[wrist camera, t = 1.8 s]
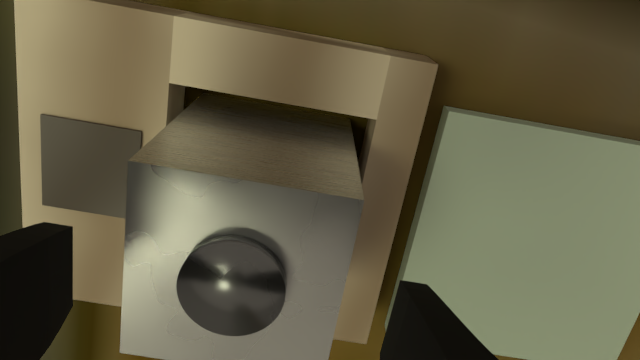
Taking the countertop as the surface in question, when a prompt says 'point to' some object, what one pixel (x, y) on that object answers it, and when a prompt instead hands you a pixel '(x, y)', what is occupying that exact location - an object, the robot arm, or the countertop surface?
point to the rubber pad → (530, 235)
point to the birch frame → (168, 102)
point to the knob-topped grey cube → (239, 233)
